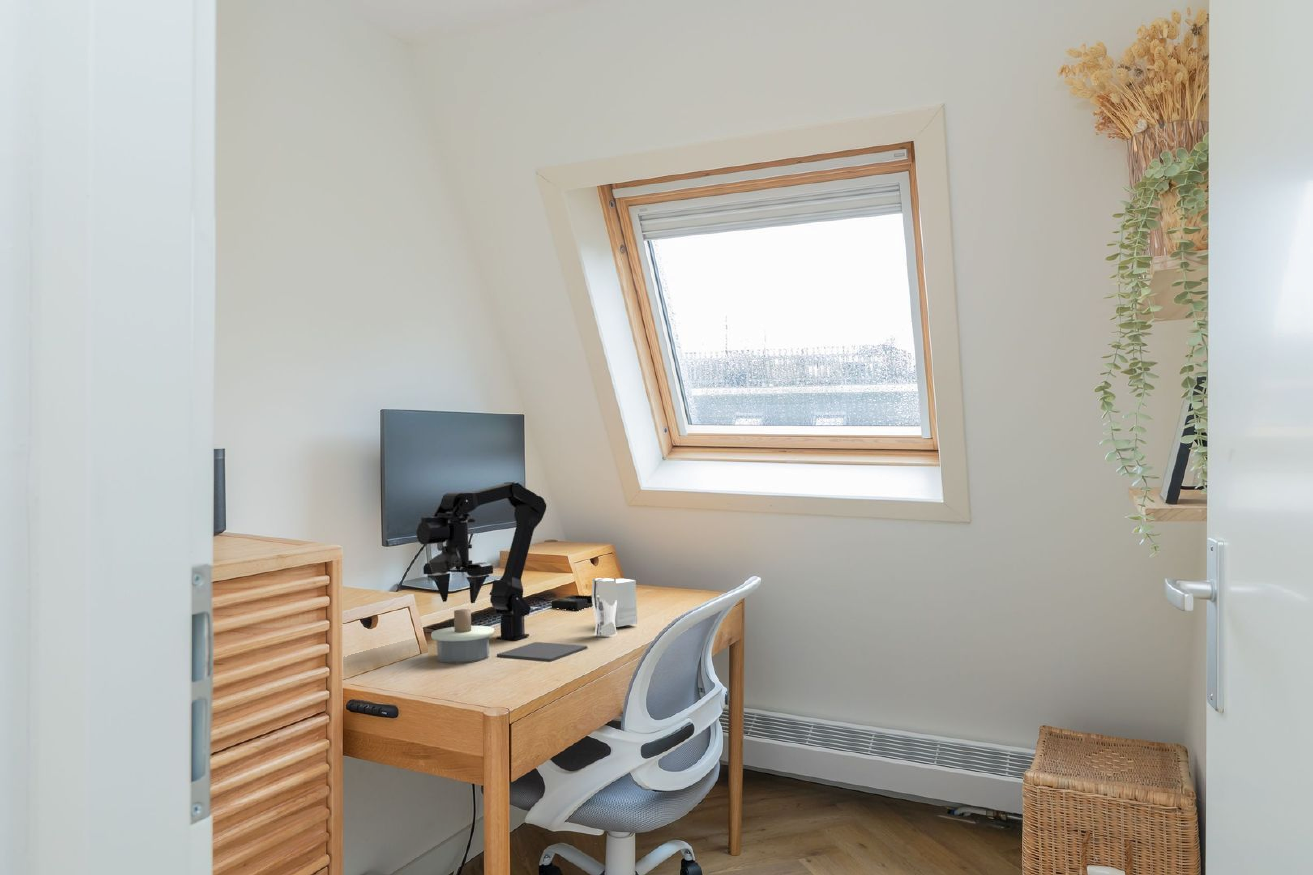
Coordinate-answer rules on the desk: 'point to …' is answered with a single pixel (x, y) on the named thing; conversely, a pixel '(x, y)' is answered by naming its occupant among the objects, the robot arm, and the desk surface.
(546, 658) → the mat
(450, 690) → the desk surface
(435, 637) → the lid
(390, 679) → the desk surface
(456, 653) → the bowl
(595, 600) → the beer glass
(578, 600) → the battery charger
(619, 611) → the supplement box
